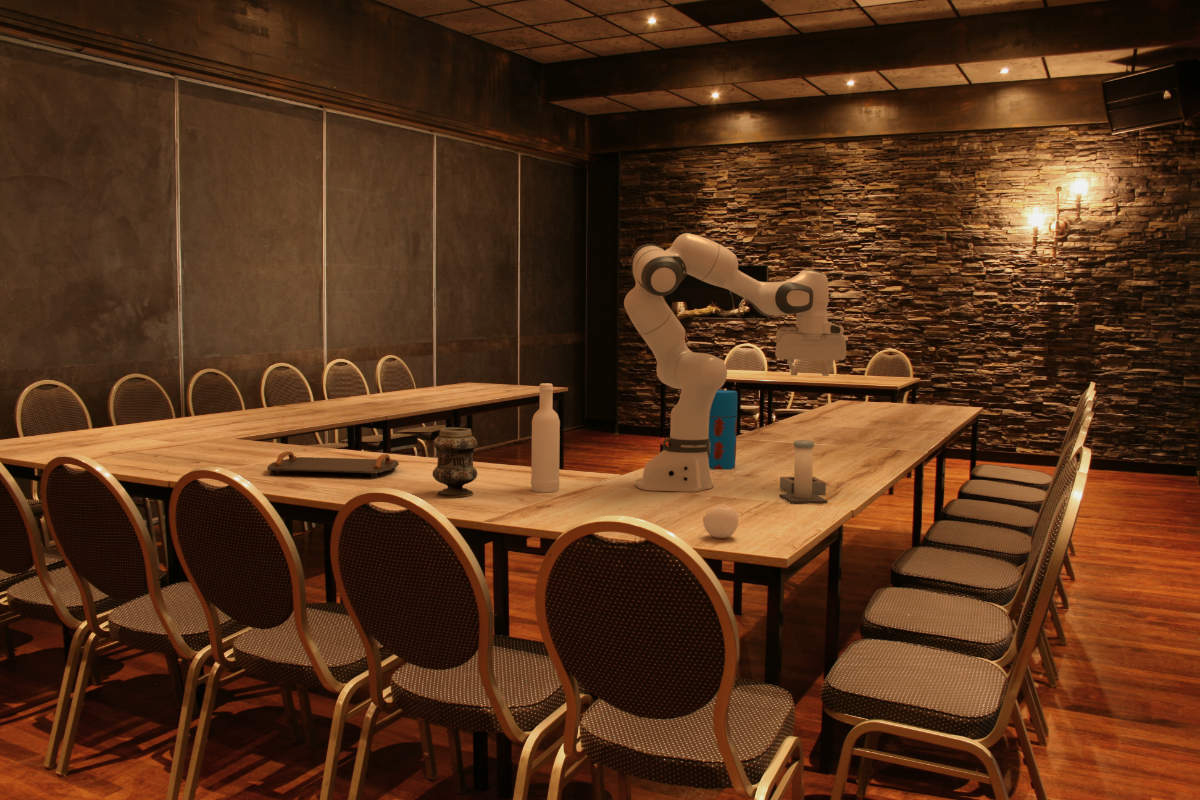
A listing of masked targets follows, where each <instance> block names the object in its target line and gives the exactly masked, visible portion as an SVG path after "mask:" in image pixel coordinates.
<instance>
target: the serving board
mask: <svg viewBox="0 0 1200 800" xmlns="http://www.w3.org/2000/svg"><path fill="white" fill-rule="evenodd" d="M286 457H288V458H286ZM284 458H285V459H284ZM399 465H400V463H399V461H398V460H396V459H392V458H391V457H390V455H389V453H383V454H380V455H379V456H378V457H377V459H375V458H354V457H353V458H350V457H349V458H347V457H313V456H312V457H310V456H307V457H306V456H298V457H297V456H296V455H295V453H293V451H288V450H287V451H282V452H281V453H280V454H278V455H277V458H276V461H274V462H272V463H269V464H268V466H267V471H269V475H270V476H271V477H273V476H275V477H276V476H277V475H278V472H279V471H280V472H281V471H282V472H286V471H287V472H310V473H311V472H314V473H315V472H316V473H346V474H347V473H351V474H354V473H355V474H370V476H369V478H370V479H374V480H377V479H378V477H379V476H378V474H379V473H384V472H387V471H391V470H395V469H396V468H397V467H399Z"/></svg>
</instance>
